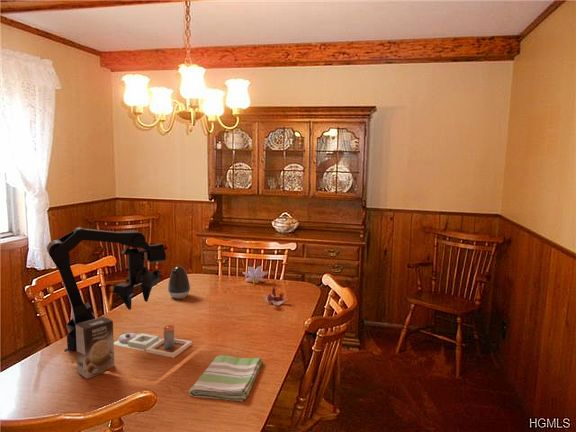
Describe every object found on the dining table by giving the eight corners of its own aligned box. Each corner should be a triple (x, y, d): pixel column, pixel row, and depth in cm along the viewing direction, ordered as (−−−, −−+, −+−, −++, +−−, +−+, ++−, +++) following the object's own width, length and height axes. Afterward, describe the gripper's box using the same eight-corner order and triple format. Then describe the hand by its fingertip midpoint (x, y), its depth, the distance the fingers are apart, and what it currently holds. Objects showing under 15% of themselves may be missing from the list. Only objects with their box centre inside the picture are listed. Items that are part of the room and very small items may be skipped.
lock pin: (170, 352, 147) (170, 330, 146) (162, 350, 148) (161, 328, 147) (176, 347, 150) (176, 326, 149) (168, 346, 151) (167, 324, 150)
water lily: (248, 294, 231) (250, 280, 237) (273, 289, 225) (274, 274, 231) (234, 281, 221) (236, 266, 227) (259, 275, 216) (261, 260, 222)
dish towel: (187, 397, 122) (187, 386, 121) (214, 360, 144) (214, 350, 144) (245, 404, 119) (245, 392, 118) (264, 364, 141) (264, 354, 141)
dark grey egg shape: (163, 299, 202) (162, 267, 200) (176, 292, 212) (175, 262, 209) (182, 301, 199) (181, 270, 196) (194, 294, 208) (193, 264, 206)
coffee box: (87, 379, 130) (84, 329, 127) (77, 372, 134) (74, 323, 131) (115, 368, 137) (113, 320, 134) (105, 362, 141) (103, 315, 138)
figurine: (284, 310, 189) (285, 296, 188) (259, 308, 191) (259, 294, 190) (289, 299, 204) (290, 285, 203) (265, 297, 206) (265, 284, 205)
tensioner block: (143, 353, 147) (143, 345, 147) (111, 346, 152) (111, 338, 151) (161, 341, 156) (161, 333, 156) (130, 335, 161) (130, 328, 161)
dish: (173, 360, 142) (173, 354, 142) (146, 354, 146) (146, 349, 146) (191, 346, 152) (191, 341, 152) (166, 341, 156) (165, 336, 156)
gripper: (137, 273, 146) (138, 317, 148) (170, 261, 163) (171, 300, 165) (111, 270, 149) (113, 312, 152) (146, 258, 167) (147, 296, 169)
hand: (138, 305), depth 159 cm, fingers open, 9 cm apart
